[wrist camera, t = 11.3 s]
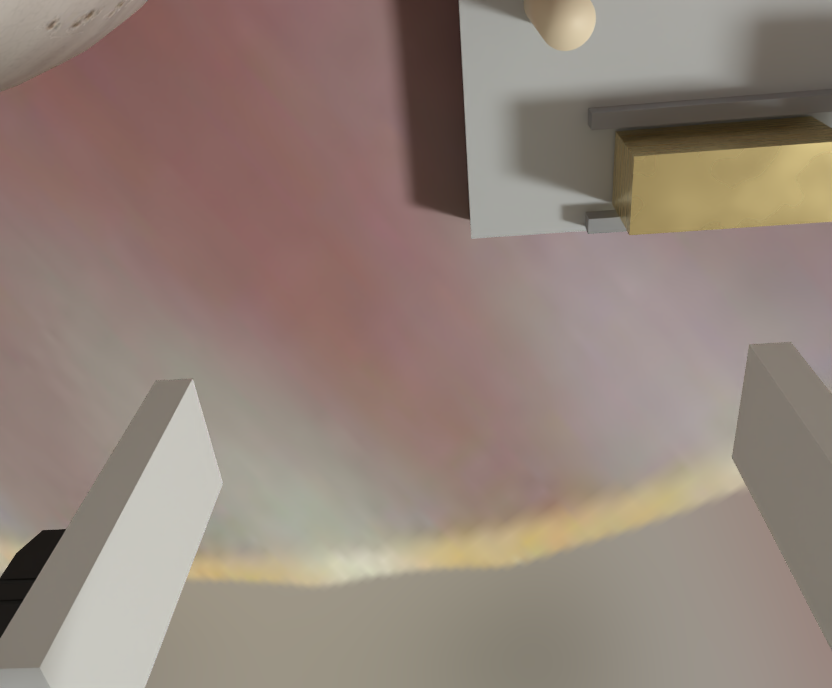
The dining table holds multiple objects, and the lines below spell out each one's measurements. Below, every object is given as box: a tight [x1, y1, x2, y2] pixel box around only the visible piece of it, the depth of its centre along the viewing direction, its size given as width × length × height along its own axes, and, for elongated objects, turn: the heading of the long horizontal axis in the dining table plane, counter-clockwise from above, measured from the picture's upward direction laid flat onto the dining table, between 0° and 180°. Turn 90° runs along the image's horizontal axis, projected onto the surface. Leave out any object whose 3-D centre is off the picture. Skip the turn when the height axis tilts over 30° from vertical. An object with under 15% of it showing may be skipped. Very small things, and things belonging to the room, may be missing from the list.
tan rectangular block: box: [612, 116, 832, 235], centre depth 27 cm, size 7×3×3 cm, turn 95°
